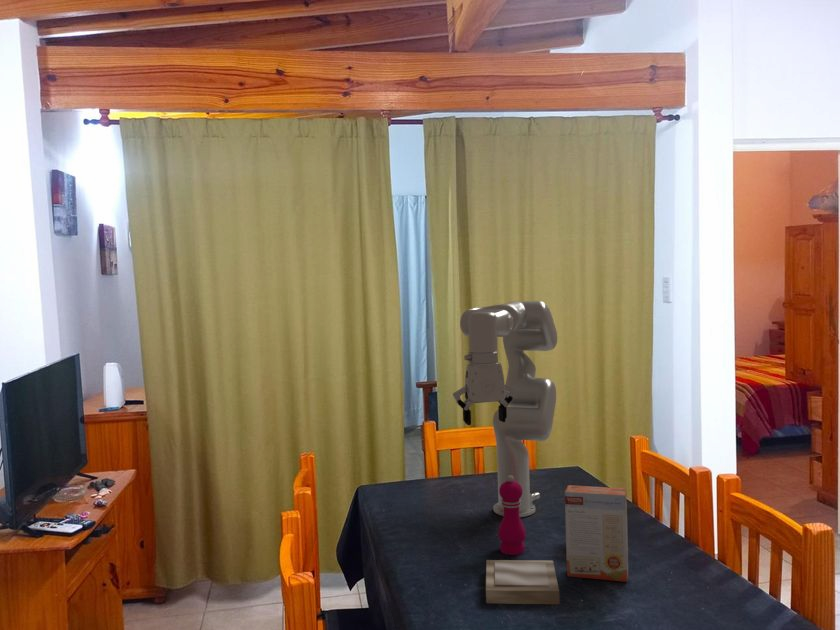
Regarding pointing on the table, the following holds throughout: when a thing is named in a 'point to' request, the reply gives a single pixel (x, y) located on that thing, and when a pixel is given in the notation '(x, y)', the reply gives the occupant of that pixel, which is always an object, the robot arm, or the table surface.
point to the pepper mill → (511, 518)
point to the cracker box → (596, 532)
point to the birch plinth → (521, 582)
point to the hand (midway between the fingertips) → (485, 422)
